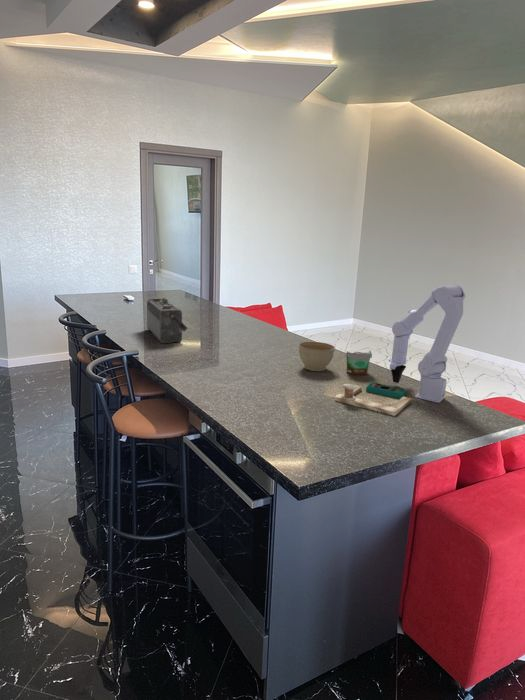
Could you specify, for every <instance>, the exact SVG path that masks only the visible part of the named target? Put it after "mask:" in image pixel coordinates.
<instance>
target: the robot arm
mask: <svg viewBox="0 0 525 700" xmlns="http://www.w3.org/2000/svg"><path fill="white" fill-rule="evenodd" d="M465 298H466V294H465V292H464V290H463V288H462V287H461V286H460V285H458V284H454V285H439V286H437V287H436V288H435V289H434V290H432V291H431V293H430V296H429V297H427V298H426V300H424V302H423V303H422V304H421V305H420V306H419V307H418V308H417V309H410V310H409V311H408V313H407V315H405V316H404V317H402V318H401V319H400V321H396V322H394V324H393V325H392V327H391V331H392V332H391V333H392V334H393V335H394V337H393V343H392V352H391V353H392V354H391V358H389V359H388V362H390V364H389V369H390V372H391V376H392V377H391V378H392V383H396V384H399V383H400V381H401V378H402V375H403V373H404V371H405V370H406V368H407V366H406V364H407V355H408V348H409V340H410V337H411V335H412V334H413V333H414V332H413V331H414V329H415V328H417V326H419V324H421V323H422V322H423V321H424V316H426V314H428V313H429V312H430V311H431V310H432V309H434V308H435V307H436V306H440V308H441V309H442V310H443V312H444V313H445V315H444V318H443V320H442V322H441V324H440V327H439V330H438V331H437V334H436V337H435V339H434V341H433V344H432V346H431V347H430V350H429V351H428V352H427V353H426V354H425V355H423V358H422V359H421V360H420V361H419V363H418V364H417V369H418V373H419V374H420V379H419V388H418V393H417V394H416V395H414V398H417V399H421V400H425V401H429V402H433V403H438V404H439V403H441V402H442V401H443V400H444V399H445V395H446V389H447V382H448V381H447V379H446V378H443V377H442V376H443V375H442V374H443V373H444V372H445V371H446V369H447V361H448V357H447V356H446V353H447V351H448V350H449V346H450V344H451V342H452V340H453V337H454V335H455V333H456V330H457V329H458V326H459V324H460V322H461V319H462V317H463V316H464V301H465Z"/></svg>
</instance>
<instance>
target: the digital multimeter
mask: <svg viewBox="0 0 525 700" xmlns="http://www.w3.org/2000/svg"><path fill="white" fill-rule="evenodd" d="M365 388H366V390H365V392H367V393H372V394H376V395H380V396H387V397H391V398H394V399H398V400H400V399H401V398H402V397H406V394H407V389H406V388H403V387H398V386H393V385H389V384H387V385H386V384H382V383H380V382H379V383H378V382H374V381H373V382H370V383H368V384H367V385H366V387H365Z"/></svg>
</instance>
